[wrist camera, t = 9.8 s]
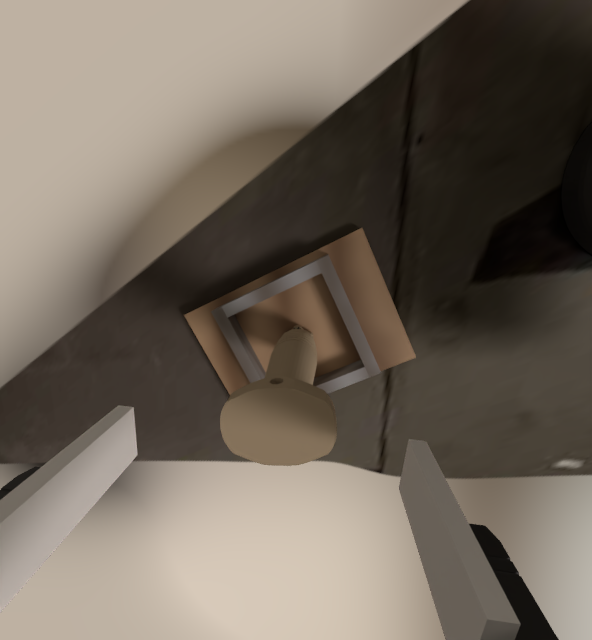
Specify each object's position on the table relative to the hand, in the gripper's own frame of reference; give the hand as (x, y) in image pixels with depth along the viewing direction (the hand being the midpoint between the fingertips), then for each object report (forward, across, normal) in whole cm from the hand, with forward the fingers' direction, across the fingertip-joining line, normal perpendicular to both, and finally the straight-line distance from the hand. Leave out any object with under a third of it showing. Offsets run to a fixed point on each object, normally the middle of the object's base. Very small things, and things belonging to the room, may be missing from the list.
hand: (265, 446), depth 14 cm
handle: (+17, 0, 0) cm, 17 cm away
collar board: (+18, 0, 0) cm, 18 cm away
